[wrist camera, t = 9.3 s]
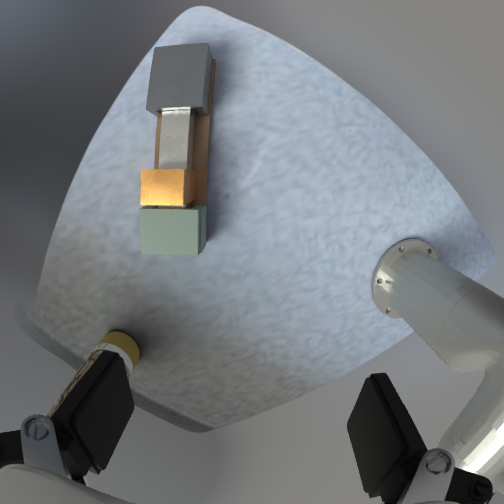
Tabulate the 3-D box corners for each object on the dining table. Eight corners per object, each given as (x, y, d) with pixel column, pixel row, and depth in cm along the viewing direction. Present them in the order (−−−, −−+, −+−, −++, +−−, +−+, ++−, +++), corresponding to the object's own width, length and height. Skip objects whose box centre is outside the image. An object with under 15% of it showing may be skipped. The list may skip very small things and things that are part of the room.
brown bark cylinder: (147, 344, 40) (84, 473, 16) (133, 369, 41) (79, 486, 17) (110, 321, 39) (26, 435, 14) (100, 348, 40) (29, 454, 16)
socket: (206, 204, 33) (200, 210, 28) (205, 245, 34) (199, 256, 30) (152, 203, 33) (137, 208, 28) (152, 242, 34) (139, 253, 29)
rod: (200, 109, 30) (189, 93, 23) (195, 233, 34) (182, 248, 27) (165, 110, 29) (146, 96, 23) (161, 232, 33) (141, 246, 27)
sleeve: (213, 59, 28) (208, 43, 23) (208, 115, 30) (201, 106, 25) (165, 61, 28) (154, 47, 23) (159, 117, 30) (146, 109, 25)
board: (215, 62, 29) (214, 59, 28) (205, 242, 35) (204, 245, 34) (166, 65, 29) (164, 61, 28) (157, 240, 35) (154, 242, 34)
